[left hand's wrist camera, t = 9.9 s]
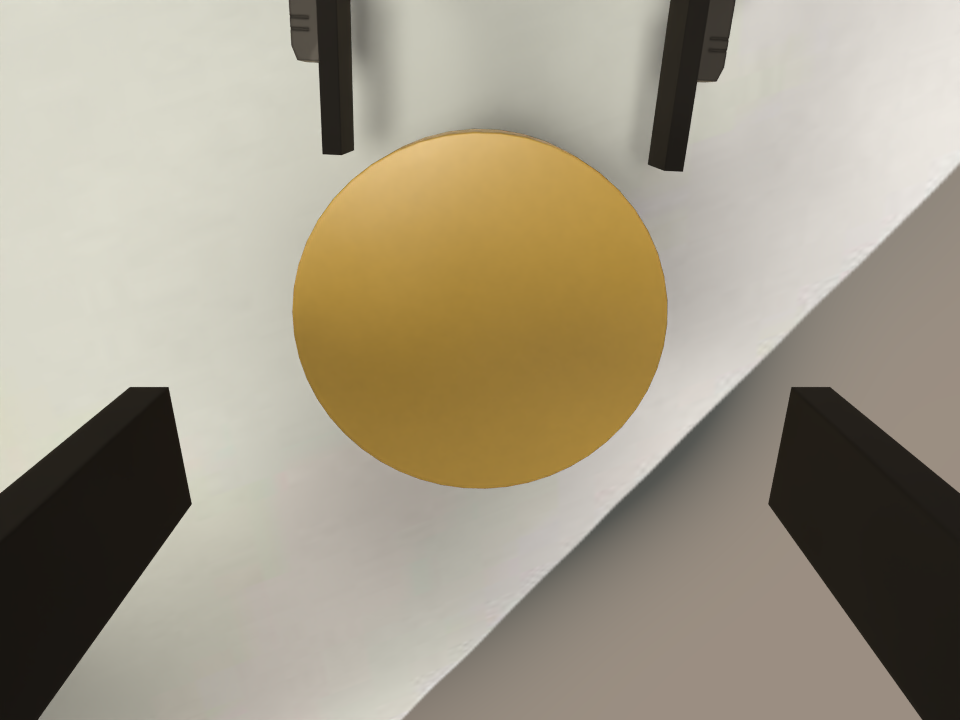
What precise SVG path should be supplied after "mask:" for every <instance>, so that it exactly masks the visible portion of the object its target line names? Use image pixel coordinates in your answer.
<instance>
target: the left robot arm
mask: <svg viewBox="0 0 960 720" xmlns="http://www.w3.org/2000/svg"><path fill="white" fill-rule="evenodd" d="M191 504H192V503H191V498H190V493H189V488H188V483H187V478H186V473H185V468H184V463H183V458H182V453H181V448H180V443H179V438H178V433H177V428H176V423H175V418H174V413H173V408H172V402H171V397H170V392H169V387H130V388H128V389H127V390H126V391H125V392H123V393H122V394H121V395H120V396H119V397H117V398H116V399H115V400H114V401H112V402H111V403H110V404H109V405H108V406H106V407H105V408H104V409H103V410H101V411H100V412H99V413H98V414H97V415H95V416H94V417H93V418H92V419H90V420H89V421H88V422H87V423H86V424H84V425H83V426H82V427H81V428H79V429H78V430H77V431H76V432H75V433H73V434H72V435H71V436H70V437H69V438H67V439H66V440H65V441H64V442H62V443H61V444H60V445H59V446H58V447H56V448H55V449H54V450H53V451H51V452H50V453H49V454H48V455H47V456H45V457H44V458H43V459H42V460H40V461H39V462H38V463H37V464H36V465H34V466H33V467H32V468H31V469H29V470H28V471H27V472H26V473H25V474H23V475H22V476H21V477H20V478H18V479H17V480H16V481H15V482H14V483H12V484H11V485H10V486H9V487H7V488H6V489H5V490H4V491H3V492H1V493H0V720H38V719H39V717H40V716H41V714H42V713H43V712H44V710H45V709H46V707H47V706H48V705H49V703H50V702H51V700H52V699H53V698H54V696H55V695H56V693H57V692H58V691H59V689H60V688H61V686H62V685H63V684H64V682H65V681H66V679H67V678H68V677H69V675H70V674H71V672H72V671H73V670H74V668H75V667H76V665H77V664H78V663H79V661H80V660H81V658H82V657H83V656H84V654H85V653H86V651H87V650H88V649H89V647H90V646H91V644H92V643H93V642H94V640H95V639H96V637H97V636H98V635H99V633H100V632H101V630H102V629H103V628H104V626H105V625H106V623H107V622H108V621H109V619H110V618H111V616H112V615H113V614H114V612H115V611H116V609H117V608H118V607H119V605H120V604H121V602H122V601H123V600H124V598H125V597H126V595H127V594H128V593H129V591H130V590H131V588H132V587H133V586H134V584H135V583H136V581H137V580H138V579H139V577H140V576H141V574H142V573H143V572H144V570H145V569H146V567H147V566H148V565H149V563H150V562H151V560H152V559H153V558H154V556H155V555H156V553H157V552H158V551H159V549H160V548H161V546H162V545H163V544H164V542H165V541H166V539H167V538H168V537H169V535H170V534H171V532H172V531H173V530H174V528H175V527H176V525H177V524H178V523H179V521H180V520H181V518H182V517H183V516H184V514H185V513H186V511H187V510H188V509H189V507H190V506H191ZM768 504H769V506H770V507H771V509H772V510H773V511H774V513H775V514H776V516H777V517H778V518H779V520H780V521H781V523H782V524H783V525H784V527H785V528H786V529H787V531H788V532H789V534H790V535H791V536H792V538H793V539H794V541H795V542H796V544H797V545H798V546H799V548H800V549H801V550H802V552H803V553H804V555H805V556H806V557H807V559H808V560H809V562H810V563H811V565H812V566H813V567H814V569H815V570H816V572H817V573H818V574H819V576H820V577H821V579H822V580H823V581H824V583H825V584H826V586H827V587H828V588H829V590H830V591H831V593H832V594H833V595H834V597H835V598H836V599H837V601H838V602H839V604H840V605H841V607H842V608H843V609H844V611H845V612H846V614H847V615H848V616H849V618H850V619H851V621H852V622H853V623H854V625H855V626H856V627H857V629H858V630H859V632H860V633H861V635H862V636H863V637H864V639H865V640H866V641H867V643H868V644H869V646H870V647H871V649H872V650H873V651H874V653H875V654H876V656H877V657H878V658H879V660H880V661H881V663H882V664H883V665H884V667H885V668H886V669H887V671H888V672H889V674H890V675H891V676H892V678H893V679H894V681H895V682H896V684H897V685H898V686H899V688H900V689H901V691H902V692H903V693H904V695H905V696H906V698H907V699H908V700H909V702H910V703H911V705H912V706H913V707H914V709H915V710H916V712H917V713H918V714H919V716H920V717H921V719H922V720H960V493H959V492H957V491H956V490H955V489H954V488H953V487H951V486H950V485H949V484H948V483H946V482H945V481H944V480H943V479H942V478H940V477H939V476H938V475H937V474H935V473H934V472H933V471H932V470H930V469H929V468H928V467H927V466H926V465H924V464H923V463H922V462H921V461H920V460H918V459H917V458H916V457H915V456H913V455H912V454H911V453H910V452H909V451H907V450H906V449H905V448H904V447H902V446H901V445H900V444H899V443H898V442H896V441H895V440H894V439H893V438H891V437H890V436H889V435H888V434H887V433H885V432H884V431H883V430H882V429H880V428H879V427H878V426H877V425H876V424H874V423H873V422H872V421H871V420H869V419H868V418H867V417H866V416H865V415H863V414H862V413H861V412H860V411H858V410H857V409H856V408H855V407H854V406H852V405H851V404H850V403H849V402H848V401H846V400H845V399H844V398H843V397H841V396H840V395H839V394H838V393H837V392H835V391H834V390H833V389H832V388H830V387H792V388H791V392H790V397H789V402H788V408H787V413H786V418H785V423H784V428H783V433H782V438H781V443H780V448H779V453H778V458H777V463H776V468H775V473H774V478H773V483H772V488H771V493H770V498H769V503H768Z"/></svg>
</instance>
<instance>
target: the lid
mask: <svg viewBox="0 0 960 720" xmlns="http://www.w3.org/2000/svg"><path fill="white" fill-rule="evenodd" d="M292 313H293V325H294V336H295V341H296V345H297V350H298V354H299V358H300V361H301V364H302V367H303V369H304V372H305V375H306V378H307V380H308V382H309V384H310V386H311V388H312V390H313V392H314V393H315V395H316V397H317V399H318V401H319V402H320V404H321V405H322V406H323V408H324V409H325V411H326V412H327V414H328V415H329V416H330V418H331V419H332V420H333V421H334V422H335V423H336V425H337V426H338V427H339V428H340V429H341V430H342V431H343V432H344V433H345V434H346V435H347V436H348V437H349V438H350V439H351V440H352V441H354V442H355V443H356V444H357V445H358V446H359V447H360V448H362V449H363V450H364V451H366V452H367V453H369V454H370V455H372V456H373V457H375V458H376V459H378V460H379V461H381V462H383V463H385V464H386V465H388V466H390V467H392V468H394V469H396V470H398V471H400V472H403V473H405V474H408V475H410V476H413V477H416V478H418V479H421V480H425V481H429V482H433V483H436V484H440V485H446V486H453V487H461V488H484V489H486V488H498V487H508V486H513V485H518V484H524V483H529V482H532V481H535V480H538V479H541V478H544V477H548V476H550V475H553V474H555V473H557V472H559V471H562V470H564V469H566V468H568V467H570V466H572V465H574V464H575V463H577V462H579V461H580V460H582V459H584V458H585V457H587V456H589V455H590V454H591V453H593V452H594V451H595V450H597V449H598V448H599V447H601V446H602V445H603V444H604V443H606V442H607V441H608V440H609V439H610V438H611V437H612V436H613V435H614V434H615V433H616V432H617V431H618V430H619V429H620V428H621V427H622V426H623V425H624V424H625V422H626V421H627V420H628V419H629V417H630V416H631V415H632V414H633V412H634V411H635V410H636V408H637V407H638V405H639V403H640V402H641V400H642V399H643V397H644V395H645V394H646V392H647V390H648V388H649V386H650V384H651V381H652V379H653V377H654V375H655V372H656V370H657V368H658V364H659V361H660V357H661V354H662V350H663V347H664V341H665V334H666V327H667V294H666V286H665V278H664V274H663V270H662V267H661V263H660V259H659V256H658V253H657V250H656V248H655V246H654V243H653V241H652V239H651V236H650V234H649V232H648V230H647V228H646V227H645V225H644V223H643V222H642V220H641V219H640V217H639V215H638V214H637V212H636V210H635V209H634V208H633V207H632V205H631V204H630V203H629V202H628V201H627V199H626V198H625V197H624V196H623V195H622V193H621V192H620V191H619V190H618V189H617V188H616V187H615V186H614V185H613V184H612V183H610V182H609V181H608V180H607V179H606V178H605V177H604V176H603V175H602V174H601V173H599V172H598V171H596V170H595V169H594V168H592V167H591V166H589V165H588V164H586V163H585V162H583V161H582V160H580V159H579V158H577V157H576V156H574V155H572V154H570V153H569V152H567V151H565V150H563V149H561V148H559V147H556V146H554V145H552V144H550V143H548V142H546V141H543V140H540V139H537V138H534V137H531V136H528V135H525V134H520V133H514V132H509V131H503V130H493V129H468V130H458V131H449V132H445V133H441V134H437V135H433V136H429V137H425V138H422V139H420V140H417V141H415V142H412V143H410V144H408V145H405V146H403V147H401V148H399V149H397V150H396V151H394V152H392V153H390V154H389V155H387V156H385V157H383V158H382V159H380V160H378V161H377V162H375V163H373V164H372V165H370V166H369V167H368V168H366V169H365V170H364V171H363V172H361V173H360V174H359V175H357V176H356V177H355V178H354V179H352V180H351V181H350V182H349V183H348V184H347V185H346V186H345V187H344V188H343V189H342V190H341V191H340V192H339V194H338V195H337V196H336V197H335V198H334V199H333V200H332V201H331V203H330V204H329V206H328V207H327V208H326V210H325V211H324V212H323V214H322V215H321V217H320V218H319V219H318V221H317V223H316V225H315V227H314V229H313V231H312V233H311V235H310V236H309V238H308V240H307V242H306V245H305V248H304V251H303V254H302V256H301V259H300V262H299V265H298V270H297V275H296V280H295V285H294V294H293V311H292Z"/></svg>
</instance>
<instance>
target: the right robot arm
mask: <svg viewBox="0 0 960 720" xmlns="http://www.w3.org/2000/svg"><path fill="white" fill-rule="evenodd" d="M734 6H735V0H671V1H670V8H669V15H668V23H667V30H666V37H665V44H664V52H663V59H662V66H661V73H660V81H659V88H658V95H657V102H656V109H655V117H654V124H653V131H652V138H651V146H650V153H649V160H648V165H651V166H653V167H656V168H658V169H661V170H664V171H680V172H683V168H684V161H685V155H686V149H687V143H688V136H689V130H690V124H691V117H692V111H693V105H694V98H695V92H696V86H697V82H716V81H717V79H718V78H719V76H720V74H721V72H722V70H723V68H724V64H725V59H726V53H727V52H726V50H727V47H728V39H729V35H730V29H731V24H732V18H733V12H734ZM289 11H290V27H291V45H292V48H293V50H294V53H295V55H296V58H297V60H299V61H304V62H315V63H319V81H320V104H321V127H322V151H323V154H329V155H343V154H346V153H348V152H351V151H353V150H354V130H353V91H352V52H351V12H350V0H289Z"/></svg>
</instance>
